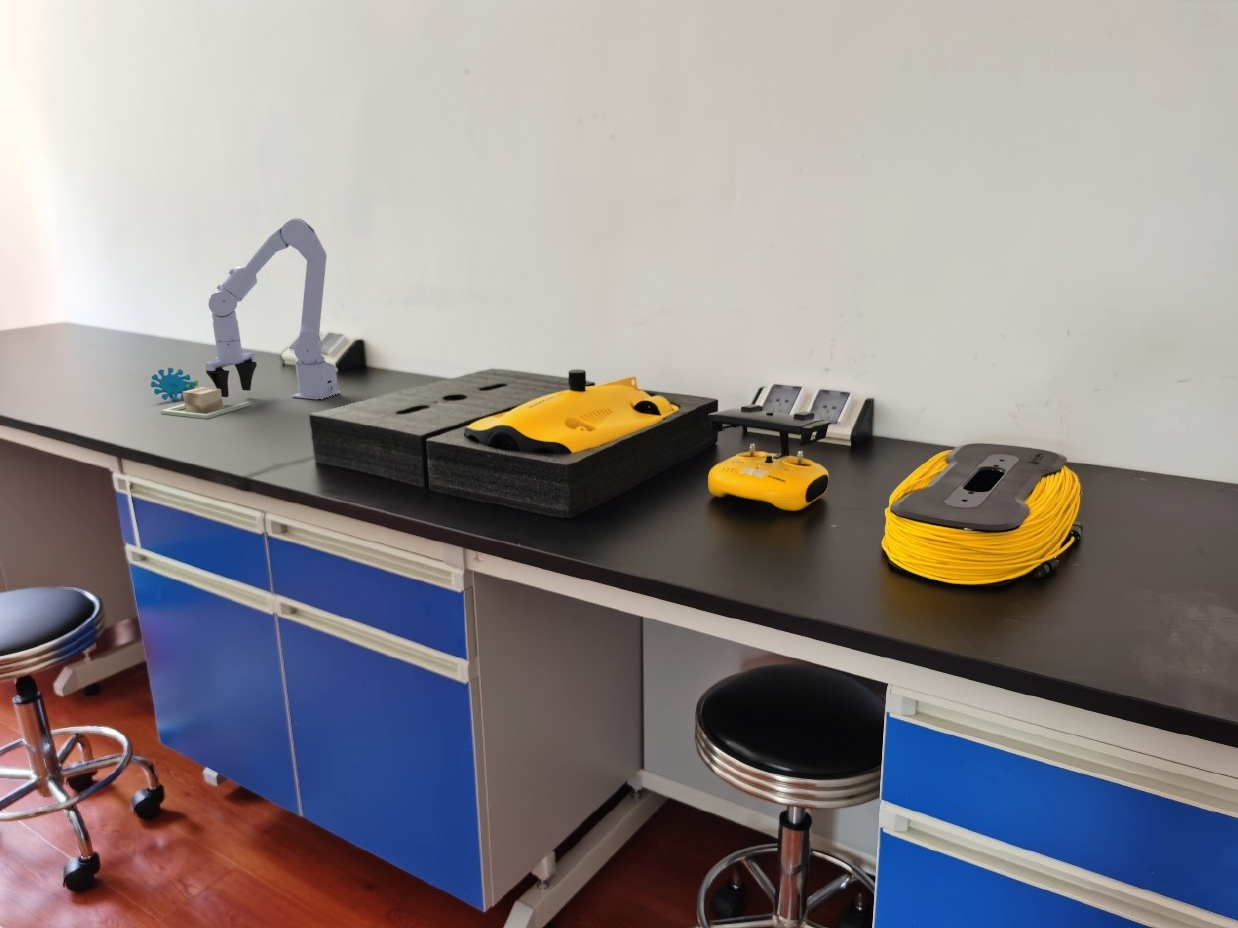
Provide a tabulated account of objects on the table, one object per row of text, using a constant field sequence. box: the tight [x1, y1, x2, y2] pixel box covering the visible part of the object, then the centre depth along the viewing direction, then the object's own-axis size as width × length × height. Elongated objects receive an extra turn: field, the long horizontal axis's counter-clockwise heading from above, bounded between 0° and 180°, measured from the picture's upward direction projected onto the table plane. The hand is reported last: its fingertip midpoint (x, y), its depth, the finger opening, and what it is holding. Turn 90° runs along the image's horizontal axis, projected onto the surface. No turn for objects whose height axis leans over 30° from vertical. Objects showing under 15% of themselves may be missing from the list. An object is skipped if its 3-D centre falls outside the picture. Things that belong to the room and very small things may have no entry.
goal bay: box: [160, 401, 251, 420], centre depth 221 cm, size 14×14×1 cm
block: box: [183, 386, 224, 414], centre depth 220 cm, size 6×6×5 cm
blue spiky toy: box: [150, 367, 199, 402], centre depth 233 cm, size 11×6×10 cm
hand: (235, 393), depth 229 cm, fingers open, 7 cm apart
